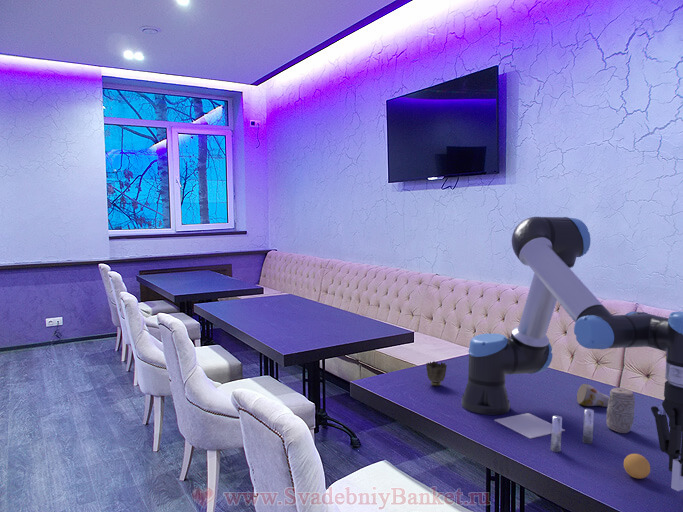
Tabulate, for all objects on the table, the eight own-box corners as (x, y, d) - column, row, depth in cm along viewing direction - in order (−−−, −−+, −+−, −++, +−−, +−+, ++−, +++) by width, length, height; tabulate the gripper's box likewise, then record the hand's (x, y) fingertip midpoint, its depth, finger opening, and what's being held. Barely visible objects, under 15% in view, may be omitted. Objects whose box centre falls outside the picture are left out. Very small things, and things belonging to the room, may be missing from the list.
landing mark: (494, 420, 152) (494, 419, 151) (528, 413, 158) (528, 413, 158) (529, 438, 139) (530, 438, 139) (565, 430, 145) (565, 429, 145)
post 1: (548, 449, 133) (550, 416, 132) (555, 447, 134) (556, 414, 133) (556, 452, 131) (557, 419, 130) (562, 451, 132) (564, 418, 131)
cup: (449, 384, 185) (449, 363, 184) (441, 390, 178) (442, 368, 178) (430, 380, 189) (430, 360, 188) (422, 385, 182) (423, 364, 182)
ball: (617, 474, 120) (619, 452, 120) (632, 469, 122) (633, 447, 122) (639, 485, 115) (641, 462, 115) (654, 480, 117) (656, 457, 117)
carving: (623, 436, 142) (626, 395, 141) (600, 426, 149) (602, 387, 148) (638, 433, 144) (641, 392, 144) (615, 423, 151) (617, 384, 150)
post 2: (580, 441, 138) (582, 409, 138) (586, 439, 139) (588, 408, 139) (588, 444, 136) (590, 412, 135) (594, 443, 137) (596, 411, 136)
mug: (616, 411, 162) (604, 386, 160) (586, 420, 165) (574, 395, 163) (609, 398, 169) (598, 374, 167) (580, 407, 172) (569, 383, 170)
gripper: (645, 377, 113) (638, 478, 114) (708, 395, 101) (700, 507, 103) (665, 373, 116) (659, 471, 118) (728, 390, 104) (720, 499, 106)
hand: (678, 488), depth 110 cm, fingers closed
